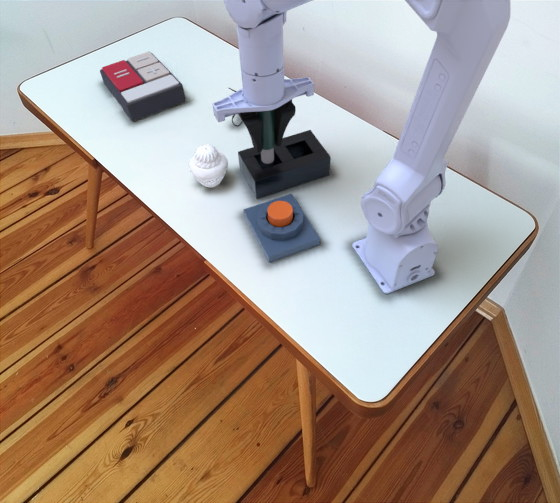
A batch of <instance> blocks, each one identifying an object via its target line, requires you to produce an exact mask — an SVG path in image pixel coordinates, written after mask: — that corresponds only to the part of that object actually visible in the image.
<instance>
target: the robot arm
mask: <svg viewBox="0 0 560 503" xmlns="http://www.w3.org/2000/svg"><path fill="white" fill-rule="evenodd" d="M312 1H313V0H223V4H224V6H225V9H226V11H227V13H228V15H229V17H230V18H231V20H233V22H234V23H235V25H236V34H237V35H236V36H237V43H238V54H239V63H240V74H241V84H242V88H240V89H238V90H236V91H237V92H233V93H232V94H230V95H228V96H226V97H224V98H223V99H219V100H218V101H215V102H212V103H211V105H212V111H213V116H214V117H215V120H216V122H218V123H222V122H224V121H226V118H228V117H233V115H235V114H236V115H238V117H239V118H240V119H241V122H242V123H243V124H244V126H245V128H246V129H247V131H248V134H249V136H250V139H251V144H252V147H254V148H255V149H256V151H257V152H261V151H262V141H261V128H262V123H263V122H262V121H261V119H260V118H259V116H258V111H270V110H274V125H275V144H276V146H277V147H278V146H281V143H282V139H283V138H284V135H285V133H286V130H287V127H288V125H289V123H290V122H291V120H292V119H293V117H294V116H295V115H296V110H297V109H296V105H295V104H294V103H293V99H295V98H298V97H302V96H306V97H312V96H315V83H314V81H313V80H312V79H311V78H310V77H309V76H305V77H299V78H285V55H284V52H285V51H284V50H285V49H284V25H285V24H286V23H287V13H288V11H290V10H293V9H295V8H297V7H300V6H303V5H304V4H308V3H309V2H312ZM404 1H405V3H407V5H408V6H409V7H410V9H412V10H413V11H414V13H415V14H416V15H417V16H418V17H419V19H420V20H421V21H422V22H423V23H424V24H425V25H426V26H427V28H428V29H429V30H430V31H432V32H436V38H435V41H434V44H433V47H432V49H431V51H430V54H429V57H428V60H427V63H426V65H425V68H424V71H423V73H422V77H421V79H420V83H419V85H418V87H417V90H416V93H415V96H414V98H413V101H412V103H411V106H410V109H409V112H408V115H407V117H406V120H405V123H404V126H403V128H402V131H401V133H400V136H399V139H398V142H397V145H396V148H395V150H394V153H393V156H392V158H391V159H390V161H389V162H388V163H387V164H386V166H385V167H384V168H383V170H382V171H381V172H380V174H379V175H378V176H377V177H376V179H375V182H374V184H373V186H372V188H371V189H369V190H367V191H366V192H364V194H363V195H362V196H361V199H360V207H361V212H362V215H363V216H364V218H365V220H366V221H367V224H368V225H367V230H366V237H365V238H362V239H358V240H355V241H353V242H352V245H351V246H352V248H353V250H354V251H355V253H356V254H357V256H358V258H360V260H361V262H362V263H363V264H364V266H365V268H366V269H367V271H368V272H369V273H370V275H371V277H372V278H373V280H374V281H375V282H376V284H377V285H378V287H379V288H380V290H381V291H382V293H384V294H386V295H387V294H391V293H393V292H396V291H398V290H400V289H404V288H405V287H408V286H410V285H413V284H415V283H418V282H420V281H423V280H426V279H428V278H430V277H433V276H434V275H435V274H436V271H435V270H434V268H433V266H434V264H435V261H436V257H437V254H438V251H439V247H438V244H437V242H436V241H435V239H434V238H433V237H432V234H431V231H430V228H429V223H428V222H429V221H428V219H429V214H430V206H431V203H432V202H433V201H434V200H435V199H436V198H438V197H439V196H440V195H442V193H443V192H444V190H445V189H446V170H447V167H448V166H449V161H448V160H447V159H446V157H445V156H446V154H447V152H448V151H449V148H450V146H451V144H452V142H453V140H454V138H455V135H456V133H457V132H458V130H459V127H460V125H461V124H462V121H463V119H464V117H465V115H466V113H467V111H468V109H469V107H470V105H471V103H472V101H473V99H474V97H475V95H476V93H477V91H478V89H479V86H480V85H481V82H482V80H483V79H484V76H485V74H486V72H487V70H488V68H489V66H490V64H491V62H492V60H493V58H494V55H495V53H496V51H497V50H498V47H499V45H500V43H501V41H502V39H503V37H504V35H505V33H506V31H507V28H508V26H509V23H510V20H511V0H404ZM236 115H235V116H236Z"/></svg>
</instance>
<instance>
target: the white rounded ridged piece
mask: <svg viewBox="0 0 560 503" xmlns="http://www.w3.org/2000/svg"><path fill="white" fill-rule="evenodd" d="M228 167H229V161H228V158H227V157H226V156H225V153H222V152H221V151H218V149H217V147H216V146H214V145H211V144H202V145H201V146H198V148H196V150H195V152H194V155H192V157H191V158H190V160H189V162H188V169H189V172H190V174H191V175H192V176H193V178H194V179H195V180H196V181H197V182H198V183H200V184H201V185H202V186H203V187H205V188H209V189H210V188H211V189H212V188H216V187H217V186H219V185H220V184H222V183H221V182H222V181H223V180H224V177H225V176H226V174H227V171H228Z"/></svg>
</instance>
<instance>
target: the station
mask: <svg viewBox="0 0 560 503" xmlns="http://www.w3.org/2000/svg"><path fill="white" fill-rule="evenodd" d="M276 201H285V202H288V203H289V204H290V205H291V206H292V208H293V220H292V222H291V223H290V224H289V225H287V226H285V227H275V226H273V225H271V224H270V222H269V221H268V211H267V210H268V207H269V205H270V204H272V203H273V202H276ZM242 210H243V217H244V219H245V221H246V222H247V224H248V226H249V228H250V230H251V231H252V233H253V235H254V237H255V239H256V241H257V243H258V245H259V247H260V249H261V250H262V252H263V254H264V257H265V258H266V260H267V262H268V263H273V262H275V261H278V260H281V259H285V258H287V257H290V256H292V255H295V254H298V253H300V252H303V251H305V250H308V249H311V248H315V247H317V246H320V244H321V243H320V242H321V238H320V236H319V235H318V233H317V232H316V230H315V228H314V227H313V225H312V224H311V222H310V221H309V219H308V217H307V216H306V214H305V213H304V211H303V209H302V208H301V206H300V205H299V203H298V201H297V200H296V199H295V197H294V195H293V193H289V194H286V195H282V196H280V197H277V198H274V199H271V200H268V201H265V202H262V203H259V204H255V205H253V206H249V207H246V208H244V209H242Z"/></svg>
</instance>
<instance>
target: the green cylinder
mask: <svg viewBox="0 0 560 503" xmlns="http://www.w3.org/2000/svg"><path fill="white" fill-rule="evenodd" d="M258 116H259V118H260V119H261V121H262V122H263V123H262V128H261V141H262V151H261V160H262V162H263V163H266V164H269V163H272V162H273V161H274V146H275V125H274V110H270V111H258Z"/></svg>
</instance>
